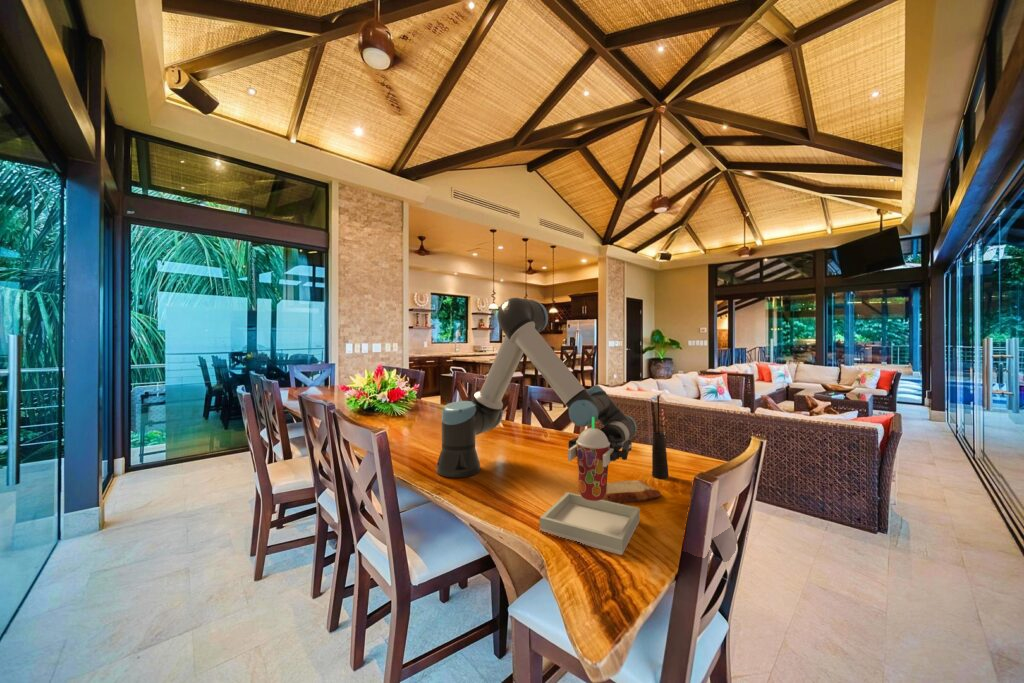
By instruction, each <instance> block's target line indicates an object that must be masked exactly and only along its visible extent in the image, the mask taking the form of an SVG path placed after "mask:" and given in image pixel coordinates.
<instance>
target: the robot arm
mask: <svg viewBox="0 0 1024 683" xmlns="http://www.w3.org/2000/svg"><path fill="white" fill-rule="evenodd" d="M497 321H498V322H497V323H498V325H499V327H500V329H501V331H502V333H504V338H503V340H502V343H501V344H500V346H499V349H498V351H497V353H496V356H495V358H494V360H493V362H492V365H491V366H490V368H489V371H488V373H487V376H486V378H485V380H484V381H483V382H484V383H482V386H481V389H480V390H477V391H476V392H474V394H473V397H472V399H471V401H470V400H458V401H453V402H450V403H449V402H448V403H447V404H445V405H444V406H443V408H442V412H441V413H442V414H441V419H440V420H441V450H440V453H439V456H438V459H437V462H436V473H437V474H438V475H440V476H442V477H445V478H452V479H455V478H457V479H459V478H468V477H472V476H474V475H476V474H478V473H479V472H480V471H481V462H480V460H479V456H478V452H477V450H476V436H477V435H480V434H483V433H486V432H489V431H492V430H494V429H495V428H497V427H498V426H499V425H500V423H501V421H502V420H503V414H504V413H503V408H504V407H503V406H504V403H503V401H502V399H503V397H504V395H505V394H506V391H507V389H508V387H509V385H510V383H511V381H512V378H513V376H514V374H515V372H516V370H517V368H518V366H519V364H520V361H521V359H522V357H523V355H525V356H526V358H528V360H529V361H530V362H531V364H532V365H533V366H534V368H535V369H536V370H537V371H538V372H539V374H541V376H542V377H543V379H545V381H546V382H547V383H548V385H549V386H550V388H552V390H553V391H554V393H555V394H556V395H557V396H558V398H560V400H561V402H563V404H564V405H565V407H566V408H567V409H568V417H569V420H570V421H571V422H572V423H573V425H575V426H578V427H582V428H584V427H588V426H590V425H591V426H592V417H595V423H596V422H597V421H598V423H600V424H601V426H602V427H601V428H599V430H601V431H602V432H603V433H604V434H605V435H606V436H607V438H608V441H609V442H610V449H609V450H608V451H607V452H606V453H605V454H604V455H603V467H606V466H607V465H608V466H609V464H611V463H612V462H615V461H617V460H619V459H620V458H621V460H623V461H627V460H628V456H629V452H630V451H632V442H633V441H632V439H633V438H634V437H635V435H636V432H637V430H638V428H637V427H638V426H637V422H636V420H635V419H634V418H633V417H631V416H629V415H628V414H625V413H624V412H623V411H622V410H621V409H620V408H619V406H618V405H617V404H616V403H615V402H614V401H613V399H612V398H611V397H610V396H609V395H608V394H607V392H606V391H605V390H604V388H602V387H601V386H600V385H597V384H595V385H593V386H592V387H590V388H589V389H588V390H587V389H586V388H585V387H584V386H583V384H582V383H581V382H580V381H579V380H578V378H576V376H575V375H574V374H573V373H572V371H571V370H570V369H569V368H568V366H567V365H566V364H565V363H564V362H563V360H562V359H561V358H560V357H559V355H557V353H556V352H555V351H554V349H553V348H552V347H551V346H550V344H548V343H547V341H546V340H545V338H543V336H542V335H541V334H540V333H541V332H542V331H543V330H545V328H546V327H547V326H548V322H549V314H548V310H547V309H546V307H545V306H544V305H543V304H542V303H541V302H539V301H538V300H537V301H536V300H534V299H529V298H520V297H511V298H509V299H506V300H504V301H503V302H502V303H501V304H500V306H499V308H498V311H497ZM578 438H579V436H578V437H575V438H573V439H571V440H568V449H567V461H569V462H571V461H573V460H574V459H576V458H577V444H576V441H577V440H578Z"/></svg>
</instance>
